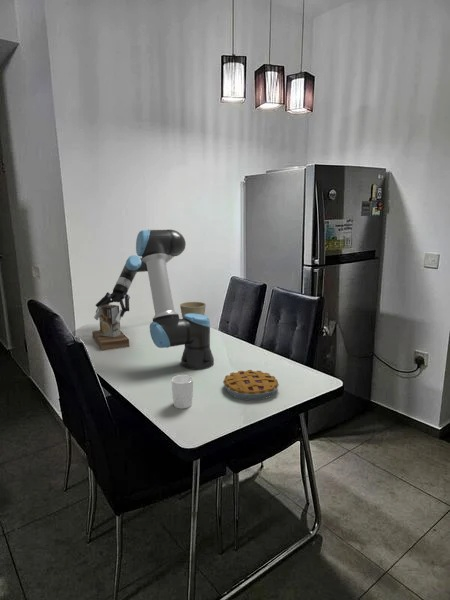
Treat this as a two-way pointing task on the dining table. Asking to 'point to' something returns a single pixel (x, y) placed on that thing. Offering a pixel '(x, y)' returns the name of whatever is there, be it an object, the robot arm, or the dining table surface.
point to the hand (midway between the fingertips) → (106, 320)
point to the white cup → (182, 391)
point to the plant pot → (192, 308)
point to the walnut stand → (110, 341)
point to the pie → (250, 384)
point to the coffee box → (109, 320)
